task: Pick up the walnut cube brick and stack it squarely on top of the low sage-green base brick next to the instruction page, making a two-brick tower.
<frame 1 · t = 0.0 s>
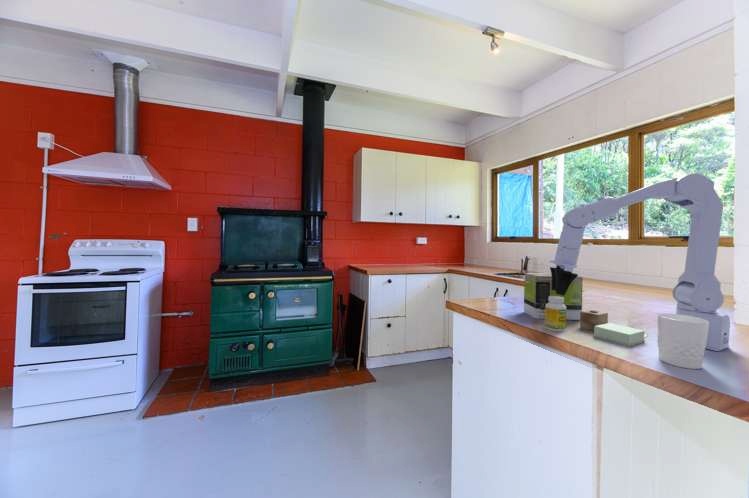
hand: (557, 292, 92), 11 cm above the counter, tool pointing down, fingers open, 7 cm apart
base brick: (618, 339, 82), on the counter
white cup: (679, 363, 67), on the counter
tea box: (550, 317, 105), on the counter
supplement bottle: (554, 329, 90), on the counter
instruction page: (624, 333, 87), on the counter
walnut brick: (593, 328, 91), on the counter, touching instruction page
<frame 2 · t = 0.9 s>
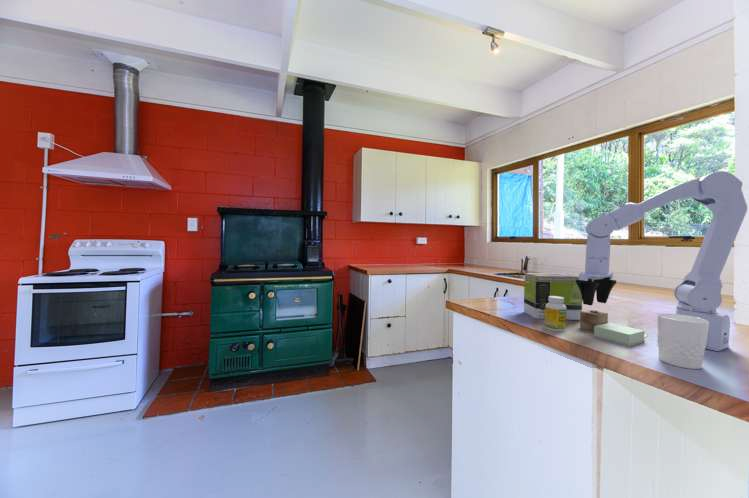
hand: (594, 303, 91), 8 cm above the counter, tool pointing down, fingers open, 7 cm apart
nothing on the counter moved.
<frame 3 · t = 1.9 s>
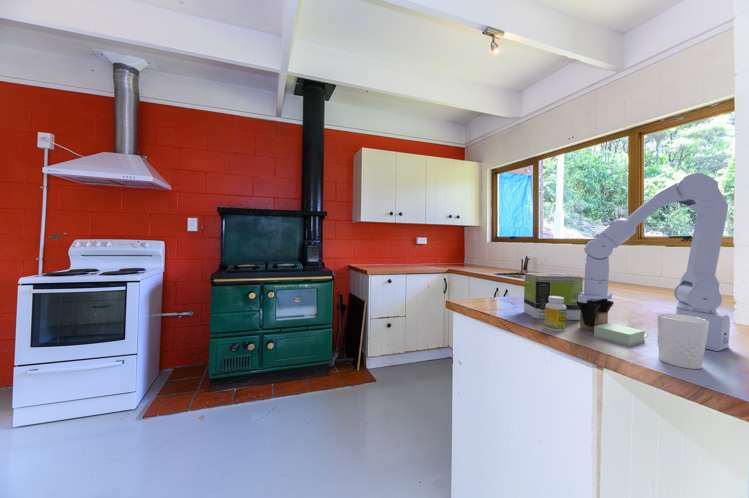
hand: (593, 324, 91), 1 cm above the counter, tool pointing down, fingers closed on walnut brick, 5 cm apart
walnut brick: (593, 328, 91), on the counter, touching gripper, instruction page
everything else where it was.
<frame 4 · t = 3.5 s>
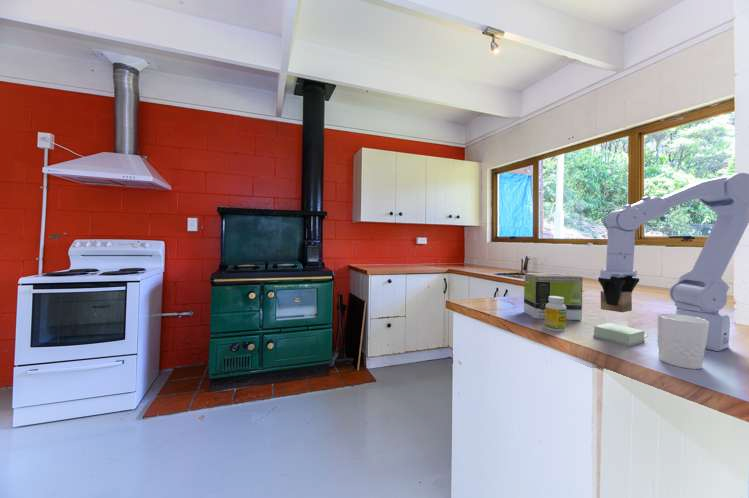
hand: (617, 304, 82), 9 cm above the counter, tool pointing down, fingers closed on walnut brick, 5 cm apart
walnut brick: (616, 309, 83), point 8 cm above the counter, touching gripper
everything else where it was.
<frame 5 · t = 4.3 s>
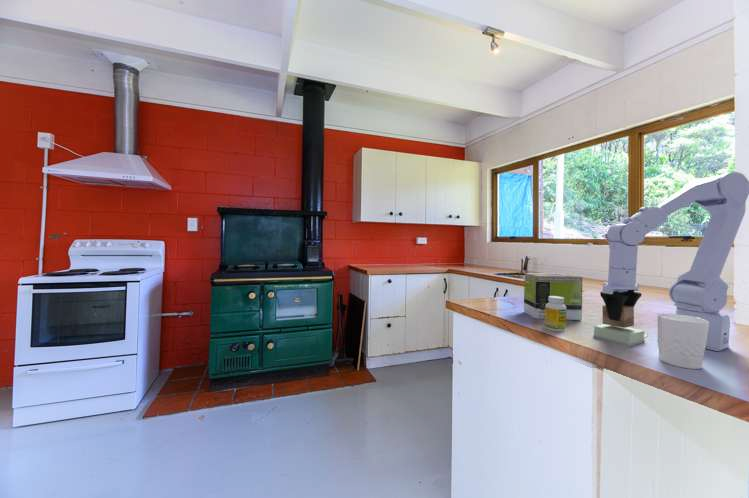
hand: (619, 318, 82), 6 cm above the counter, tool pointing down, fingers closed on walnut brick, 5 cm apart
walnut brick: (618, 324, 82), point 4 cm above the counter, touching gripper
everything else where it was.
when the fingers open (5 cm above the counter, at t = 4.9 s): walnut brick stays where it is, resting on base brick.
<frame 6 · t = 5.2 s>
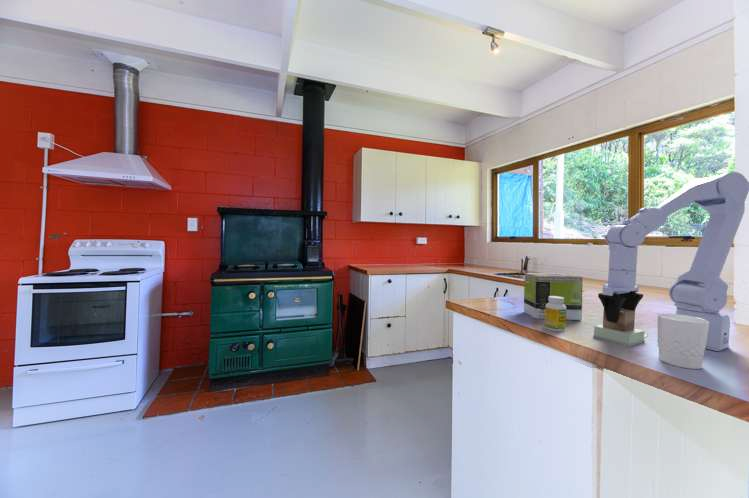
hand: (619, 320, 82), 5 cm above the counter, tool pointing down, fingers open, 7 cm apart
walnut brick: (618, 328, 82), point 3 cm above the counter, touching base brick
everything else where it was.
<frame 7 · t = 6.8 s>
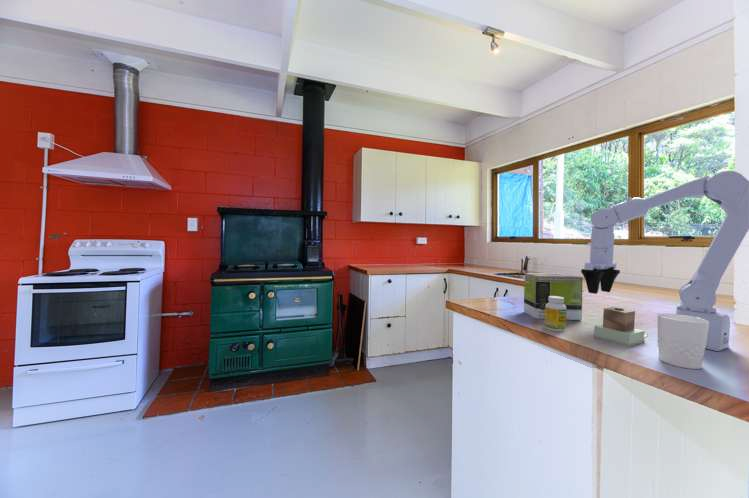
hand: (599, 292, 94), 10 cm above the counter, tool pointing down, fingers open, 7 cm apart
nothing on the counter moved.
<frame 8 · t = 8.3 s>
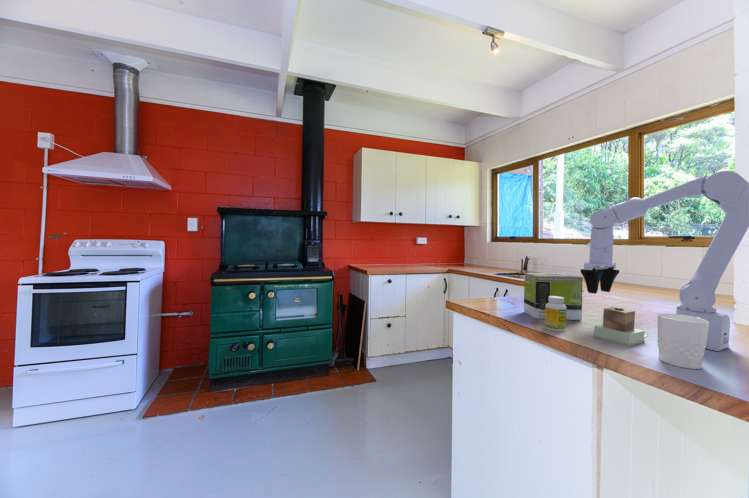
hand: (598, 292, 95), 10 cm above the counter, tool pointing down, fingers open, 7 cm apart
nothing on the counter moved.
at the end: walnut brick 0.2 cm off-centre on the base brick, point 3.0 cm above the base brick's base; walnut brick tilted 0°; the gripper is holding nothing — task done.
